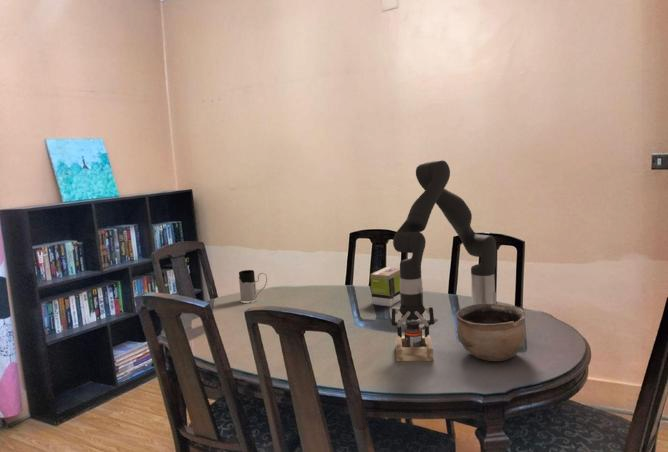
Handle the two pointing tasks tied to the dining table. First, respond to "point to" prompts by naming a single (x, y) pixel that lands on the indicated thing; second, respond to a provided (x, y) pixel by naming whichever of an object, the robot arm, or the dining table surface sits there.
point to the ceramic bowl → (491, 330)
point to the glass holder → (248, 285)
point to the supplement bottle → (413, 334)
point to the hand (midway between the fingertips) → (413, 336)
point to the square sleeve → (414, 350)
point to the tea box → (385, 286)
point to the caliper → (426, 319)
